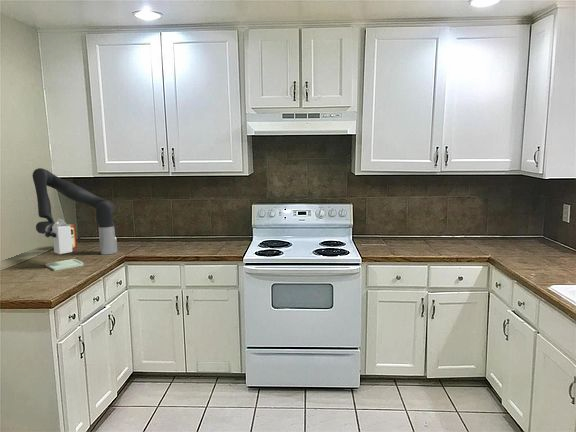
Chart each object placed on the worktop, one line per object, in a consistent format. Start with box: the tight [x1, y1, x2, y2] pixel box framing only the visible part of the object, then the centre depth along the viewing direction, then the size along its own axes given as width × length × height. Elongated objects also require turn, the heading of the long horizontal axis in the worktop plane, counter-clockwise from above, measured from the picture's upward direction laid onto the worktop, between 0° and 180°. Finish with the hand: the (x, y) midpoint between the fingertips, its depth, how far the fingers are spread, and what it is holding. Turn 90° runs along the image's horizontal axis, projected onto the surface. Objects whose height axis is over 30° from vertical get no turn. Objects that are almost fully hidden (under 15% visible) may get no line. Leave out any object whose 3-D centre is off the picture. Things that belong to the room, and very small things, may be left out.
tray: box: [45, 258, 85, 272], centre depth 254 cm, size 16×16×1 cm
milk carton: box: [52, 218, 73, 255], centre depth 251 cm, size 7×7×19 cm
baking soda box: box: [67, 223, 78, 250], centre depth 298 cm, size 10×6×16 cm
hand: (63, 234), depth 250 cm, fingers closed on milk carton, 8 cm apart
